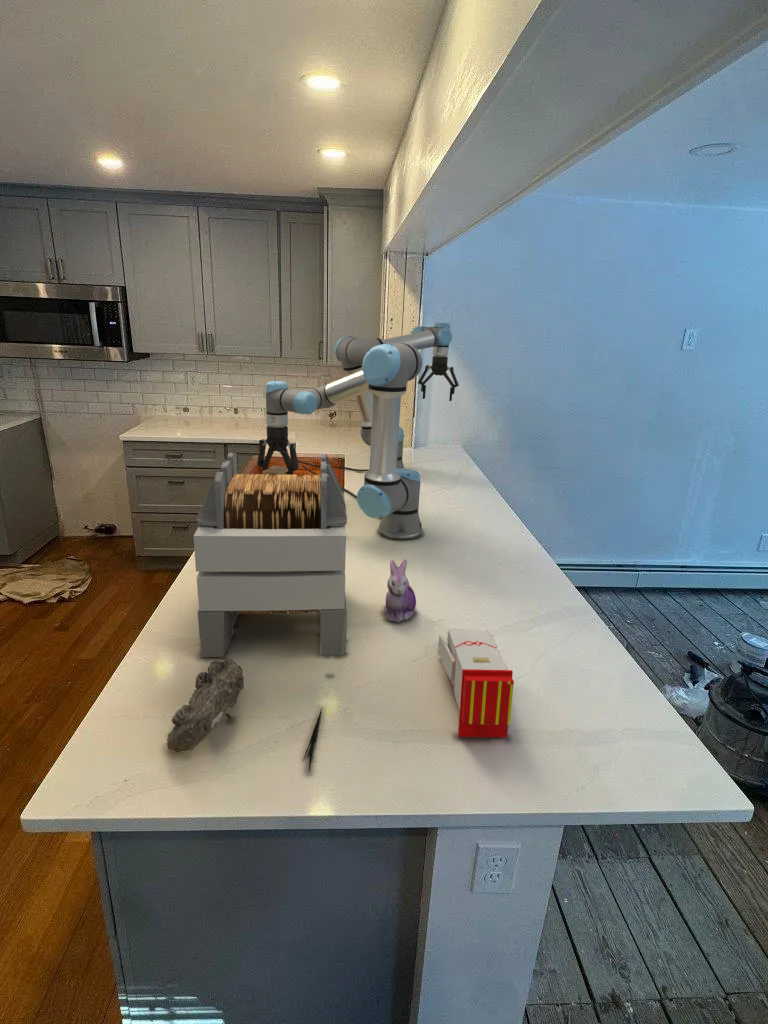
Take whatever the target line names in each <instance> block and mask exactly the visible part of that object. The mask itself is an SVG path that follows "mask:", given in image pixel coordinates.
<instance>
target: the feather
mask: <svg viewBox="0 0 768 1024" xmlns="http://www.w3.org/2000/svg"><path fill="white" fill-rule="evenodd" d="M329 675H330V676H331V675H332V674H331V673H330V674H329ZM322 710H323V707H321V708H320V710H319V713H318V716H317V719H316V723H315V725H314V728H313V731H312V733H311V737H310V739H309V742H308V745H307V748H306V751H305V754H304V757H303V760H302V763H301V767H302V765H303V763H304V761H305V758H308V759H309V760H308V762H307V763H308V764H307V766H308V771H310V770H311V766H312V765H311V764H312V760H313V757H315V756H314V755H315V751H316V749H315V746H317V739H318V733H319V729H320V722H321V717H322V712H323V711H322ZM313 754H314V755H313ZM306 755H307V757H306Z"/></svg>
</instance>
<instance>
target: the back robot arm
mask: <svg viewBox="0 0 768 1024" xmlns="http://www.w3.org/2000/svg"><path fill="white" fill-rule="evenodd" d="M452 340H453V333H452V331H451V324H450V323H448V322H435V323H434V325H433V326H421V325H420V326H415V327H414V328H412V331H411V333H408V334H403V335H398V336H394V337H388V338H384V339H381V338H380V337H376V338H362V337H355V336H352V335H348V336H344V337H341V338H339V339H338V340H337V341H336V344H335V346H334V356H335V358H336V359H337V360H338V362H340V364H341V367H342V369H343V371H344V372H345V373H347V375H350V374H352V373H355V372H357V371H359V370H362V364H363V359H364V357H365V355H366V354H367V352H368V351H369V350H370V349H371V348H373V347H375V346H378V345H382V344H401V343H406V344H410V345H412V346H414V347H415V348H416V349H417V350H418V351H419V350H424V349H429V348H432V355H433V356H432V358H431V359H432V360H431V365H429V364H426V365H425V367H424V371H423V372H422V374H421V376H420V377H419V379H418V381H417V384H418V385H420V386H421V387H420V392H421V393H422V400H424V399H426V393H427V392H426V391H427V384H426V383H427V382H428V381H429V380H430V379H432V377H433V376H439V377H441V376H442V377H444V378H445V379H446V381H447V383H449V385H450V388H449V400H448V401H449V402H452V400H453V395H454V394H455V391H456V388H457V387H459V386H460V384H459V381H458V379H457V377H456V374H455V369H454V366H448V361H449V357H448V356H449V350H450V349H449V348H450V344H451V342H452ZM430 370H431V373H430V374H429V375H428V376H427V377H426V375H427V373H428V372H429V371H430ZM447 371H449V372H450V376H451V378H452V379H451V378H450V376H449V374H448V373H447ZM425 377H426V378H425ZM354 398H355V400H356V404H357V406H358V410H359V412H360V416H361V419H362V421H361V422H360V427H361V429H360V438H361V440H362V442H364V443H365V444H366V445H367V446H369V447H371V430H372V409H373V394H372V393H371V392H370V391H368V392H365V393H363V394H360V395H357V396H355V397H354ZM404 439H405V434H404V429H403V428H402V427H401V426H399V436H398V451H397V467H396V468H405V466H404V465H405V464H404V461H403V453H404ZM290 460H291V458H290ZM297 461H298V464H299V463H300V464H303V465H307V466H310V467H314V468H315V467H316V468H321V465H317V464H312V463H308V462H305V461H301V460H298V459H297ZM332 468H333V469H344V470H350V471H354V472H368V471H369V470H370V469H357V468H351V467H346V466H332Z"/></svg>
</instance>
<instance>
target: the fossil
mask: <svg viewBox="0 0 768 1024" xmlns="http://www.w3.org/2000/svg"><path fill="white" fill-rule="evenodd" d="M243 670H244V669H243V667H242V665H240V664H237V662H236V661H235V660H234V659H232V658H231V659H227V658H226V659H224V660H223V661H222V660H217V659H212V660H211V661H210V663H209V665H208V666H207V671H201V672H199V673H198V674H197V675H196V676H195V680H194V684H195V685H194V687H195V689H194V690H193V693H192V694H191V697H190V698H189V700H188V704H184V705H182V706H181V707H180V709H177V710H176V711H175V713H174V715H173V716H172V718H171V723H172V724H173V727H172V730H171V731H170V732H168V734H167V738H166V741H167V742H166V745H167V749H168V750H169V751H173V752H174V753H176V754H178V753H182V752H188V751H189V752H192V751H193V750H195V748H196V747H197V746H199V744H200V743H201V742H203V741H204V740H205V739H206V738H207V737H208V736H209V735H210V734H211V733H212V732H214V730H215V729H217V727H218V726H219V724H220V722H221V721H222V720H223V719H224V718H225V716H226V717H227V719H229V720H233V717H232V715H230V714H229V710H230V709H231V708H234V706H235V704H236V703H237V702H238V699H239V697H240V695H241V693H242V691H243V690H245V689H244V688H245V675H244V671H243Z"/></svg>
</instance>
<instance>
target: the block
mask: <svg viewBox="0 0 768 1024" xmlns="http://www.w3.org/2000/svg"><path fill="white" fill-rule="evenodd" d="M269 467H270V468H268V469H266V470H264V471H263V470H262V472H261V474H264V475H266V474H269V475H270V476H271V475H272V477H273V475H274V476H275V475H277V474H280V475H281V474H282V475H283V474H284V475H286V472H287V471H288V469H287V466H281V465H275V464H274V465H272V466H269Z"/></svg>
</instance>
